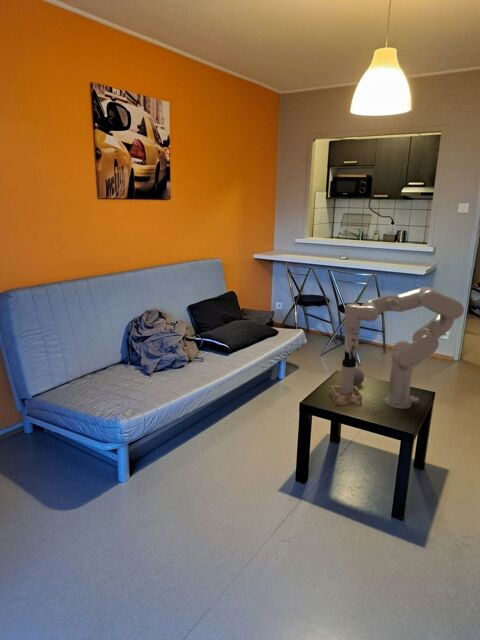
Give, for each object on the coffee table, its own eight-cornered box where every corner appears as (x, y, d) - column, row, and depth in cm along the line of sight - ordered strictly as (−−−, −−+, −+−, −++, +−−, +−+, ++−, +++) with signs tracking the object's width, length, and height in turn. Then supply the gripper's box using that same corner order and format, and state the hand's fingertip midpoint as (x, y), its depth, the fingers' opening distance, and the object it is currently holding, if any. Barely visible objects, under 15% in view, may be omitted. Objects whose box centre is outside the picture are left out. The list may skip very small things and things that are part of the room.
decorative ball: (351, 380, 249) (353, 363, 246) (366, 386, 241) (368, 369, 239) (340, 385, 243) (341, 367, 240) (355, 391, 235) (357, 373, 233)
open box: (355, 394, 231) (356, 386, 230) (361, 405, 218) (362, 396, 217) (330, 393, 231) (330, 385, 230) (334, 404, 218) (335, 396, 217)
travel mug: (353, 400, 221) (356, 361, 216) (339, 398, 222) (342, 360, 217) (352, 395, 227) (356, 357, 222) (339, 393, 228) (342, 356, 223)
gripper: (364, 334, 207) (361, 369, 211) (355, 324, 224) (353, 357, 228) (347, 334, 207) (345, 369, 211) (340, 324, 224) (338, 357, 228)
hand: (349, 363), depth 220 cm, fingers open, 9 cm apart
